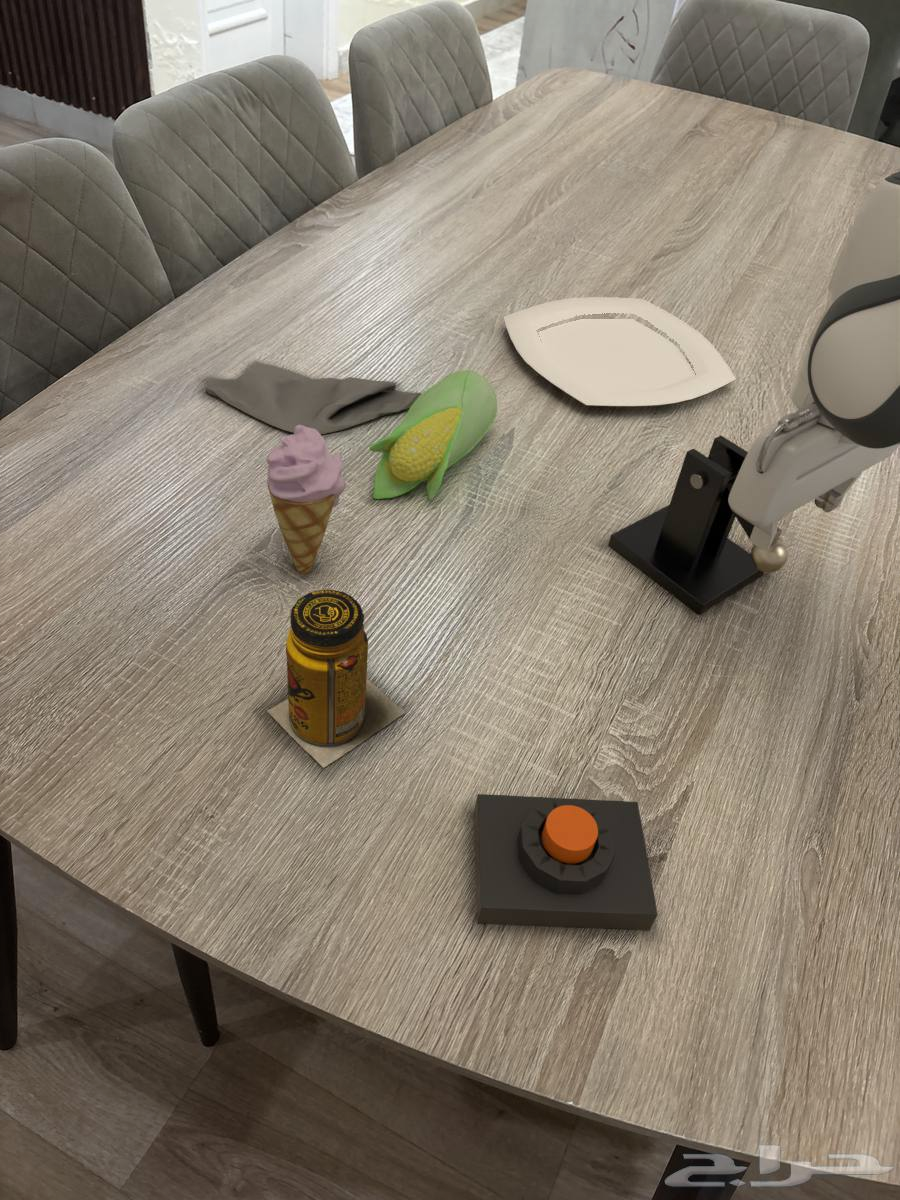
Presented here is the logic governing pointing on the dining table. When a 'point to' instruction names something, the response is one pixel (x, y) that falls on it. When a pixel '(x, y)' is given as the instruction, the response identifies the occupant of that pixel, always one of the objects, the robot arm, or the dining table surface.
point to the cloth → (309, 398)
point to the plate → (617, 353)
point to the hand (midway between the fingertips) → (794, 524)
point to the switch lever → (761, 559)
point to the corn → (435, 434)
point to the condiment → (330, 678)
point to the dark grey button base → (560, 867)
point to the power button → (569, 834)
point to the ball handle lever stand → (692, 535)
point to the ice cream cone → (304, 491)
